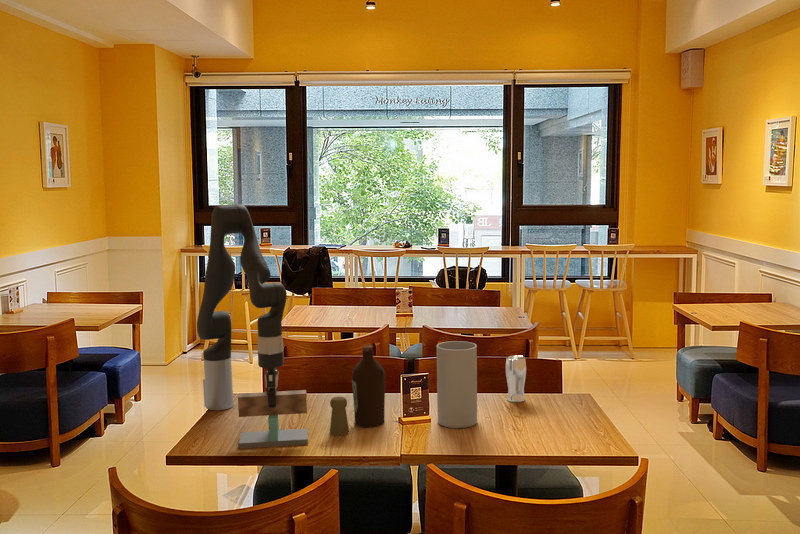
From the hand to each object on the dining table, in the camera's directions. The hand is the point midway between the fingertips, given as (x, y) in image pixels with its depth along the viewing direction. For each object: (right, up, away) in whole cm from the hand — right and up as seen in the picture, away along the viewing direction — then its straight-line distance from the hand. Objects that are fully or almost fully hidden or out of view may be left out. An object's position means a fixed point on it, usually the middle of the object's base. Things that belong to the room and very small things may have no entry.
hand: (272, 403), depth 236 cm
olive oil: (+28, -9, +16) cm, 34 cm away
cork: (+19, -11, +8) cm, 23 cm away
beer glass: (+78, -6, +38) cm, 87 cm away
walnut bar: (0, -3, 0) cm, 3 cm away
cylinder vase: (+56, -9, +15) cm, 59 cm away
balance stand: (0, -12, +1) cm, 12 cm away
